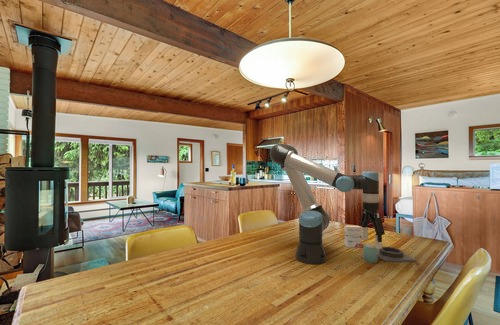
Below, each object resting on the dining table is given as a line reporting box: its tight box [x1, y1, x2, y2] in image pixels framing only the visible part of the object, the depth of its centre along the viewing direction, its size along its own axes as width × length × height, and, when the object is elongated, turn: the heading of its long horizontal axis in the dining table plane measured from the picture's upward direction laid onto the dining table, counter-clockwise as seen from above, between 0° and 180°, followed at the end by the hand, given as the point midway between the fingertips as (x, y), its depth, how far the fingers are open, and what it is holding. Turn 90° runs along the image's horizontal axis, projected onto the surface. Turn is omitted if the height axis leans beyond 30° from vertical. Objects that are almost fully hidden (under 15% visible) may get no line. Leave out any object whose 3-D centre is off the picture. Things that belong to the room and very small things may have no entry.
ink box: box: [344, 224, 363, 249], centre depth 145 cm, size 9×5×12 cm, turn 84°
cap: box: [363, 243, 379, 264], centre depth 124 cm, size 6×6×7 cm
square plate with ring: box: [378, 246, 417, 263], centre depth 130 cm, size 16×16×3 cm
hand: (371, 243), depth 124 cm, fingers open, 13 cm apart
